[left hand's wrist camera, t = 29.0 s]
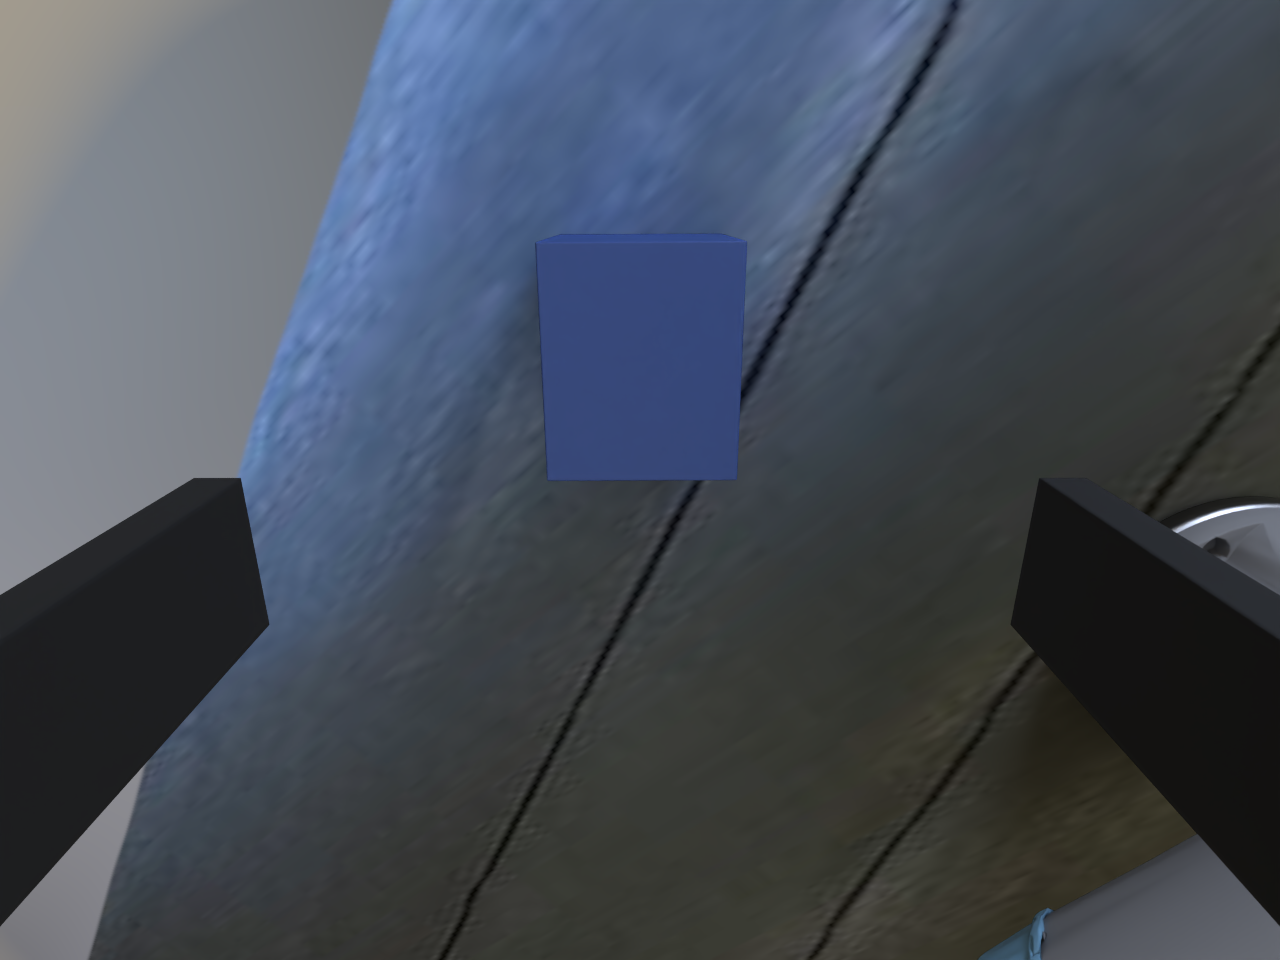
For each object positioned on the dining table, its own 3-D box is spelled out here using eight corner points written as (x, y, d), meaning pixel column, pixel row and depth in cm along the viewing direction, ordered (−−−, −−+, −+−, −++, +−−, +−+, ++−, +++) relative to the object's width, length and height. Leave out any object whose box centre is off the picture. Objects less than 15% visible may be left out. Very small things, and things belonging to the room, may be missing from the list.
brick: (722, 233, 33) (747, 241, 26) (716, 423, 36) (737, 480, 29) (558, 234, 33) (534, 241, 26) (566, 424, 36) (547, 481, 29)
